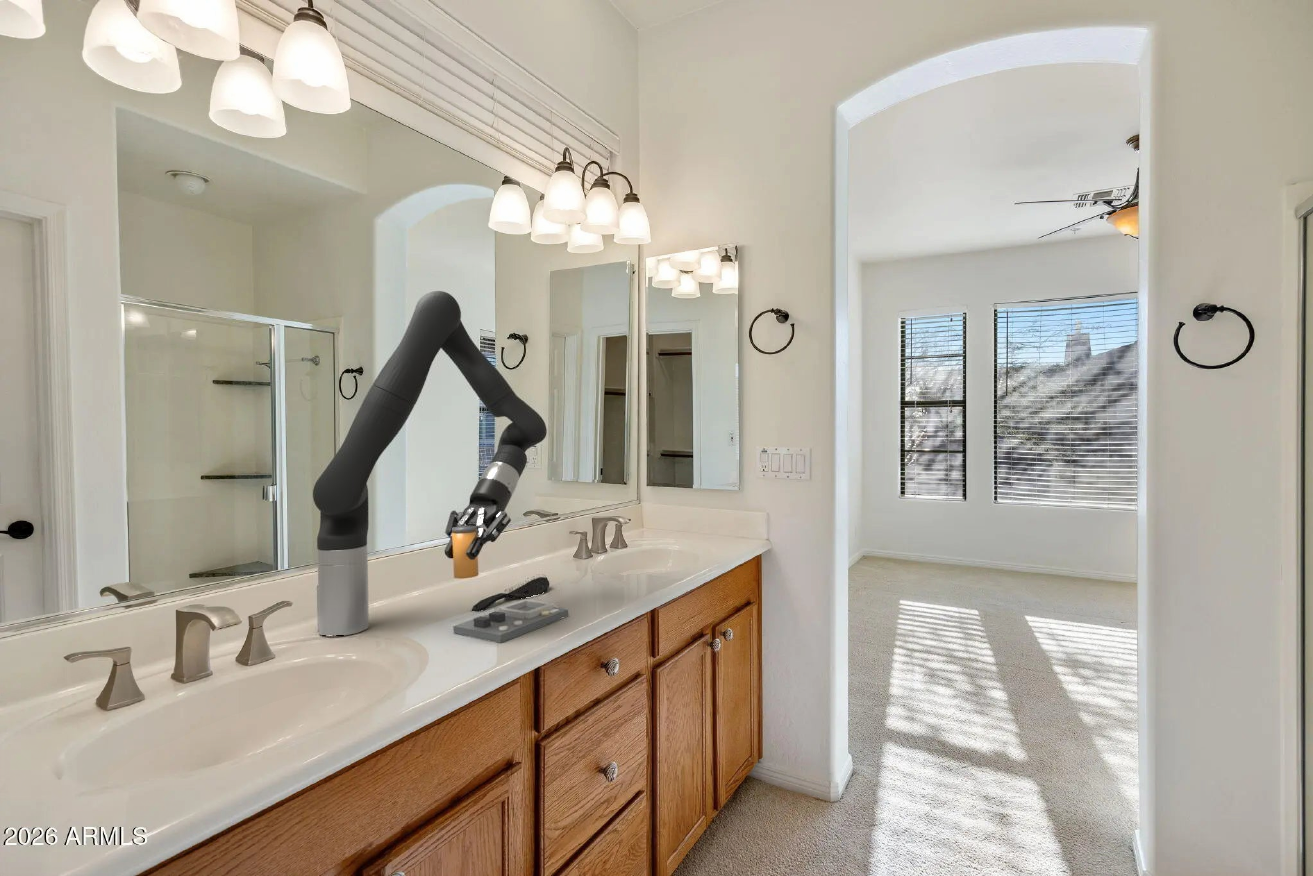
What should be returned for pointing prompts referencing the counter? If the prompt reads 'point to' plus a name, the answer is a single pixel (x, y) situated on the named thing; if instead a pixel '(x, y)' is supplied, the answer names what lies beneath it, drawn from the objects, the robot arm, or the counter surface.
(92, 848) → the counter surface
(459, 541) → the orange lidded container
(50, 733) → the counter surface
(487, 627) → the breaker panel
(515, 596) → the hairbrush
